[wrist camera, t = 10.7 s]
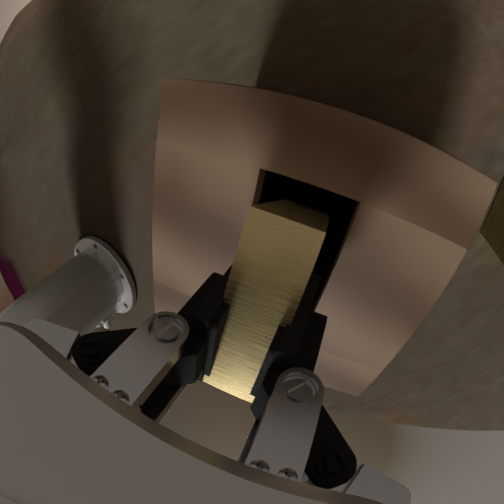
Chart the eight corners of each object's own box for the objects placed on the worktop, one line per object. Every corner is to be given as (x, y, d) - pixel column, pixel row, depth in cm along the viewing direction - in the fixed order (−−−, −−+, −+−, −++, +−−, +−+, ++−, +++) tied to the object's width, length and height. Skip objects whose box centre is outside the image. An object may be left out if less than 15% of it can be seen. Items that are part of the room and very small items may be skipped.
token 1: (329, 215, 11) (283, 335, 13) (284, 199, 12) (244, 319, 13) (326, 233, 7) (254, 404, 8) (249, 205, 7) (200, 380, 9)
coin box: (367, 293, 24) (357, 396, 15) (225, 240, 26) (155, 313, 18) (432, 145, 16) (497, 183, 7) (253, 87, 19) (164, 78, 10)
